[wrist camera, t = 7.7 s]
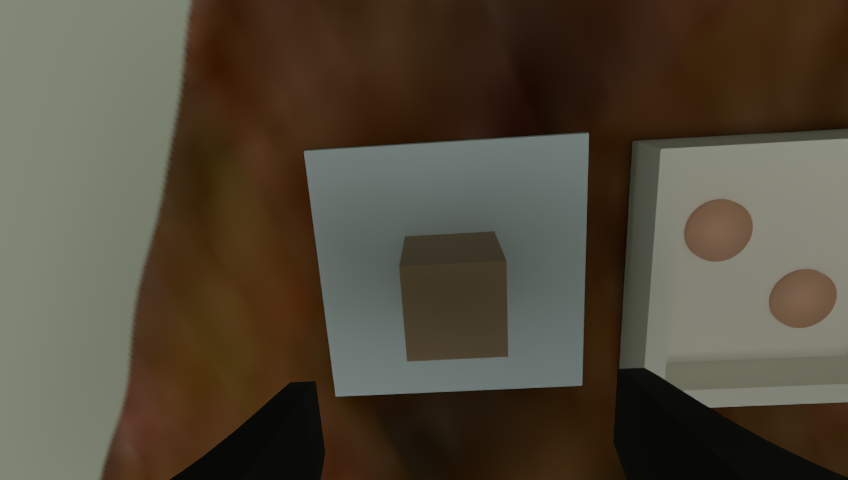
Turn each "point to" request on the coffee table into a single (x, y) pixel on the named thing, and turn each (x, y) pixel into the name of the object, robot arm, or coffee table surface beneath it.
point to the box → (740, 267)
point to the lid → (452, 262)
